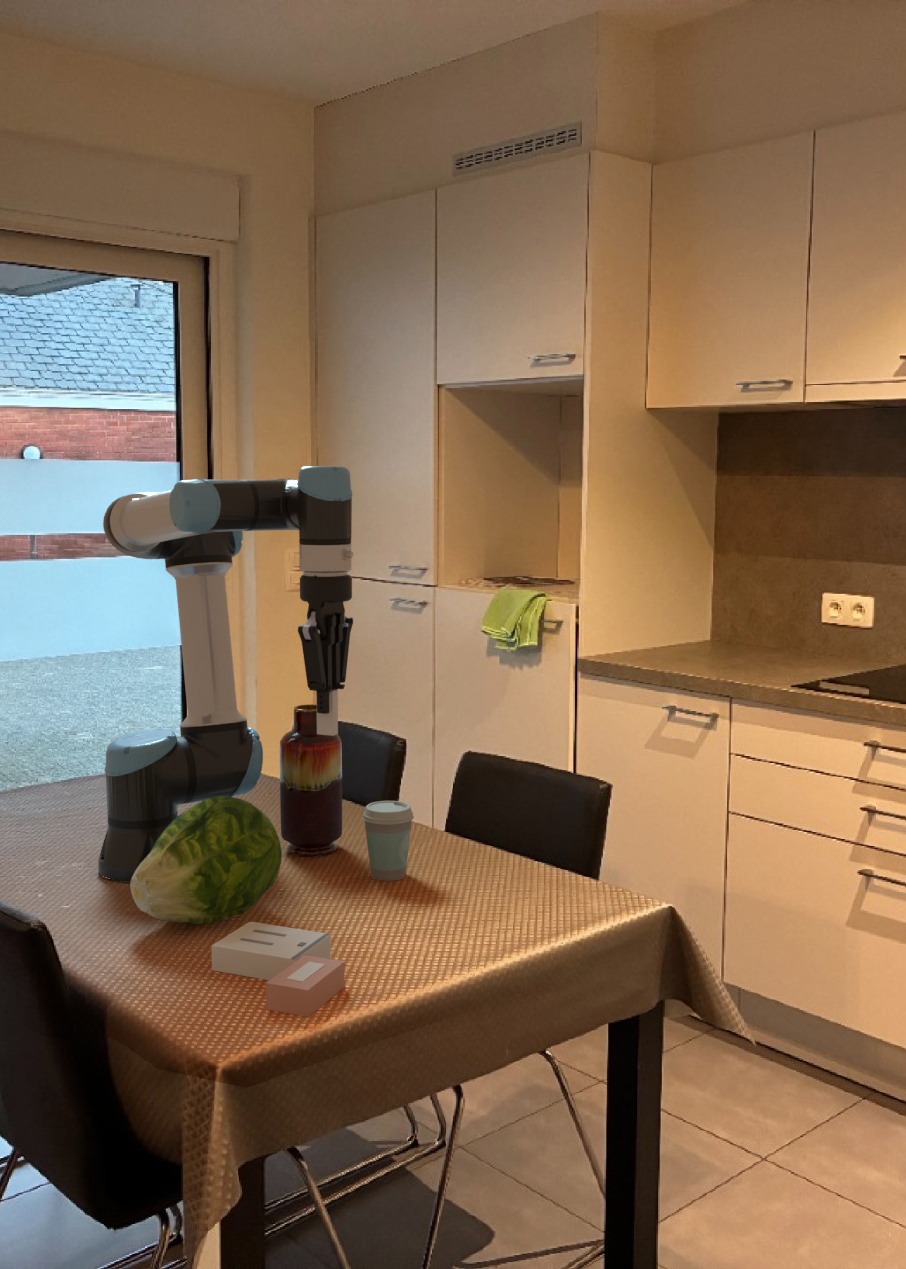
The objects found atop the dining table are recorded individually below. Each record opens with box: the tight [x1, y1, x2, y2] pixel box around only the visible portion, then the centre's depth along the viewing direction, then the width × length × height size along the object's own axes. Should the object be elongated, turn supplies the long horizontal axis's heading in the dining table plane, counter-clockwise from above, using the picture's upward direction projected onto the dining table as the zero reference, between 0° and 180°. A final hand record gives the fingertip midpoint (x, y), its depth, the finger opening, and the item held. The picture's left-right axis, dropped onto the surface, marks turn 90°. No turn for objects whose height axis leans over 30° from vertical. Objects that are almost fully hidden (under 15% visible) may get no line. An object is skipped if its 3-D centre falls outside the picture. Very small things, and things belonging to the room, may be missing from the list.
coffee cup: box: [362, 800, 415, 882], centre depth 210 cm, size 8×9×12 cm
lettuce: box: [129, 796, 283, 926], centre depth 189 cm, size 19×23×18 cm
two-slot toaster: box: [210, 921, 332, 981], centre depth 172 cm, size 13×10×4 cm
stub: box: [265, 955, 346, 1018], centre depth 161 cm, size 6×10×4 cm, turn 158°
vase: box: [279, 703, 343, 858], centre depth 224 cm, size 11×11×26 cm
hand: (327, 733), depth 183 cm, fingers closed
